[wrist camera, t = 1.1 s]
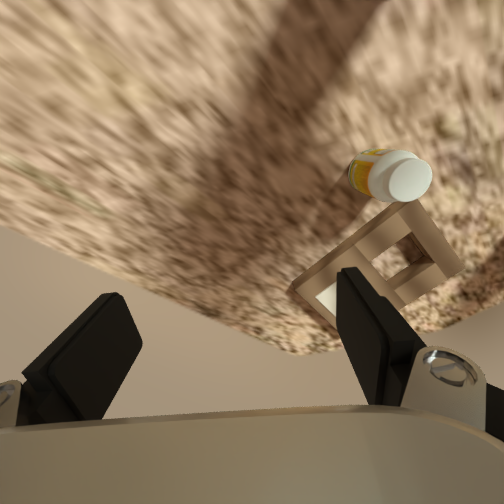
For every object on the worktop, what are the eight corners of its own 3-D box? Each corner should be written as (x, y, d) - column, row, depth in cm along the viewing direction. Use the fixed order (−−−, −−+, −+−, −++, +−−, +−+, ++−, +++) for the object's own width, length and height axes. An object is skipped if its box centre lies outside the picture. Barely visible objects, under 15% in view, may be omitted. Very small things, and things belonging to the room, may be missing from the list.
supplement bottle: (372, 139, 30) (420, 136, 21) (396, 169, 31) (452, 178, 22) (338, 172, 31) (370, 182, 23) (363, 200, 33) (402, 219, 24)
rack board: (404, 193, 32) (417, 197, 30) (452, 260, 36) (466, 268, 34) (292, 281, 38) (295, 291, 36) (343, 330, 42) (349, 342, 40)
